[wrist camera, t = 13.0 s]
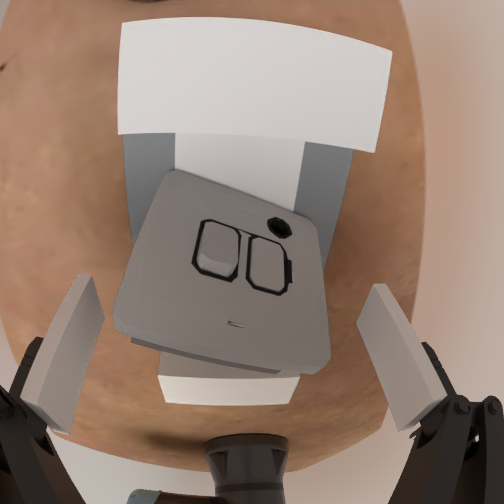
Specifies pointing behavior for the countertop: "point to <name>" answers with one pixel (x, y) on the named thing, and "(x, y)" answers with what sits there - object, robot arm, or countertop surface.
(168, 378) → the rail plate
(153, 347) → the electrical switch
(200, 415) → the countertop surface
